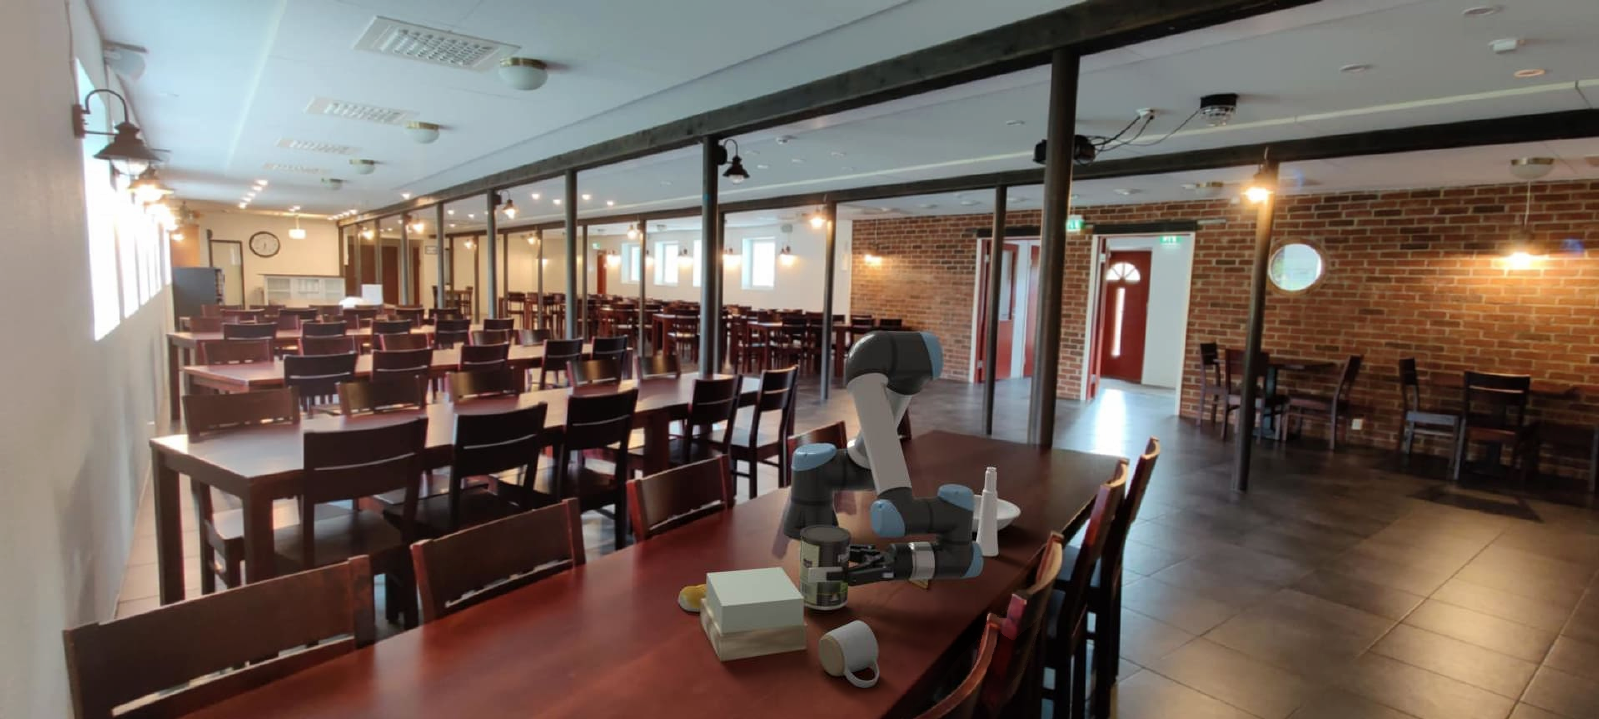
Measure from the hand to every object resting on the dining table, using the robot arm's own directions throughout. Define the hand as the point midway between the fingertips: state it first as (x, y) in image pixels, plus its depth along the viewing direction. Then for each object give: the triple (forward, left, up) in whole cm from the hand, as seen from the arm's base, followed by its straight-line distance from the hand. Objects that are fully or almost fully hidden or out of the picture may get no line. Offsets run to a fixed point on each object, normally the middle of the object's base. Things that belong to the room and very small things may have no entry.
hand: (803, 564), depth 147 cm
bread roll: (-8, -19, -10) cm, 23 cm away
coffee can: (+1, +4, -8) cm, 9 cm away
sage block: (+7, -13, -5) cm, 16 cm away
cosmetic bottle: (-18, +57, -10) cm, 61 cm away
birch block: (+7, -13, -10) cm, 18 cm away
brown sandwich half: (-8, +32, -10) cm, 35 cm away
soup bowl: (-35, +65, -10) cm, 75 cm away
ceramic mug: (+25, 0, -10) cm, 27 cm away
